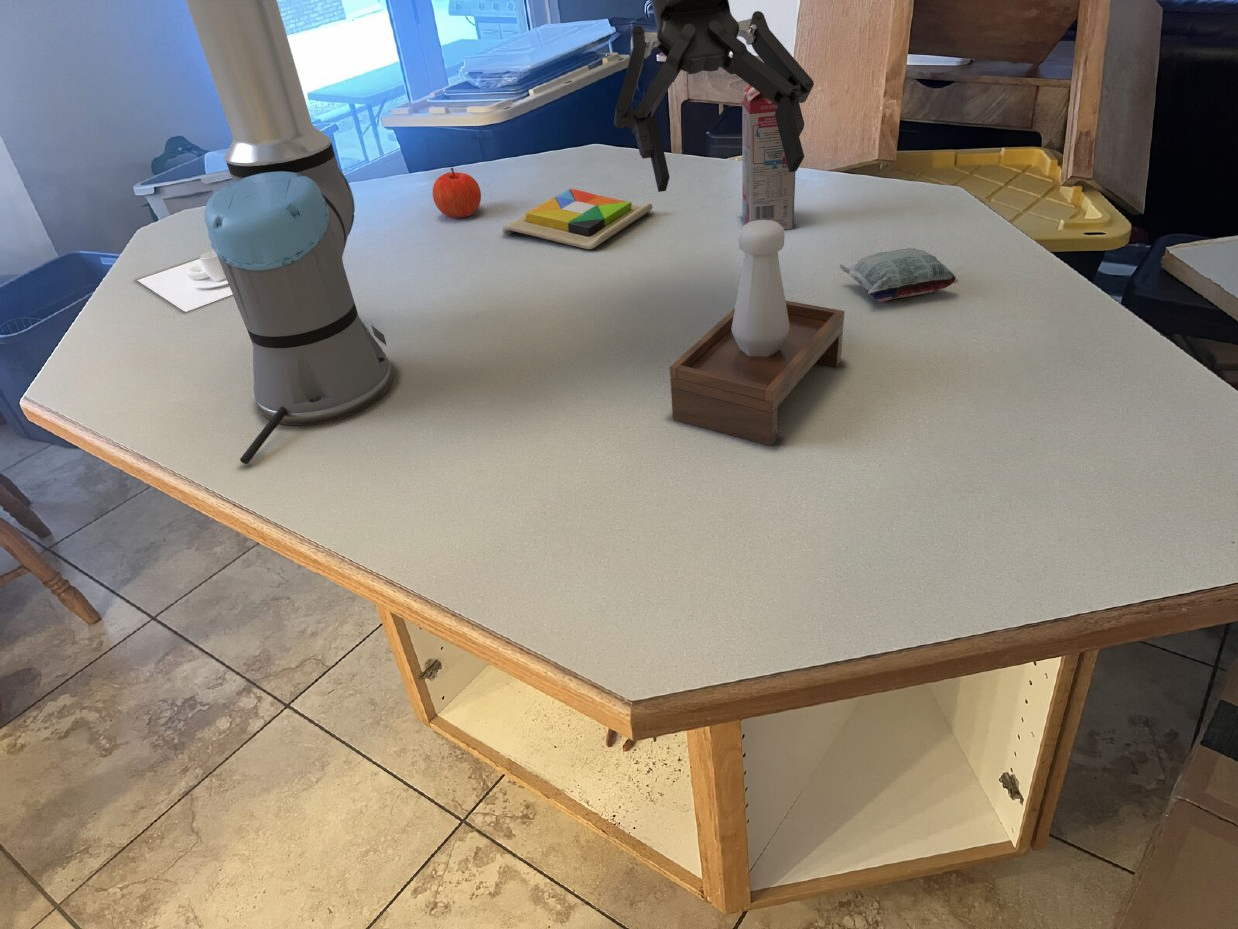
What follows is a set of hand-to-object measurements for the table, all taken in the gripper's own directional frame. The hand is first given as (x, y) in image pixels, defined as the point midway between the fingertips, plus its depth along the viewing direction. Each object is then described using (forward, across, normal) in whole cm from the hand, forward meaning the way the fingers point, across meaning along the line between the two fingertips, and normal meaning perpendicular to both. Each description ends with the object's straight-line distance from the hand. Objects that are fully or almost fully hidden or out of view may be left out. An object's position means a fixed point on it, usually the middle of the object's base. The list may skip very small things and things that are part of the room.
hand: (731, 174), depth 81 cm
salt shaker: (+16, -1, -6) cm, 17 cm away
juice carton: (-13, -18, -42) cm, 48 cm away
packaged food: (+8, -25, -22) cm, 34 cm away
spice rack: (+20, -1, -10) cm, 22 cm away
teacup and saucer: (-24, +66, -54) cm, 88 cm away
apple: (-31, +28, -61) cm, 74 cm away
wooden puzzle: (-21, +10, -51) cm, 56 cm away
